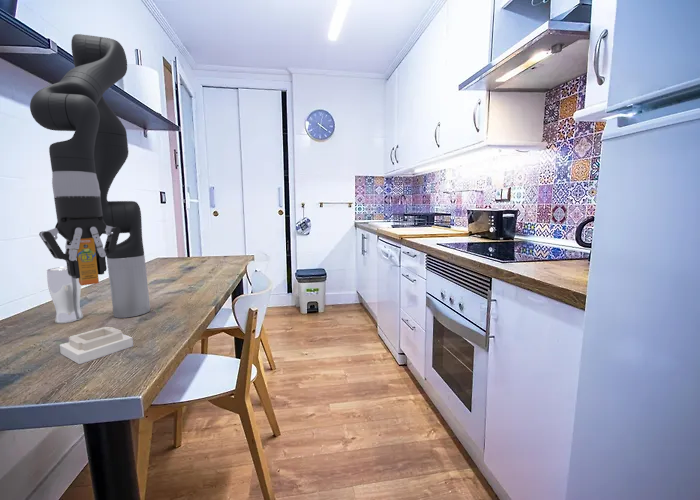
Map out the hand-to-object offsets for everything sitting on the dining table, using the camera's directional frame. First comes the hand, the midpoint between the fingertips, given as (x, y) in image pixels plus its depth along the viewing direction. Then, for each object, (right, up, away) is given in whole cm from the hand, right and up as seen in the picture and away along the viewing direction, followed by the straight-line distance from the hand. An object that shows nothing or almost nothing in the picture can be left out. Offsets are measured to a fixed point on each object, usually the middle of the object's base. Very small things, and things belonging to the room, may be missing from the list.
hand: (88, 275), depth 71 cm
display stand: (0, -17, +2) cm, 17 cm away
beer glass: (-24, -15, +23) cm, 36 cm away
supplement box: (0, -2, 0) cm, 2 cm away
